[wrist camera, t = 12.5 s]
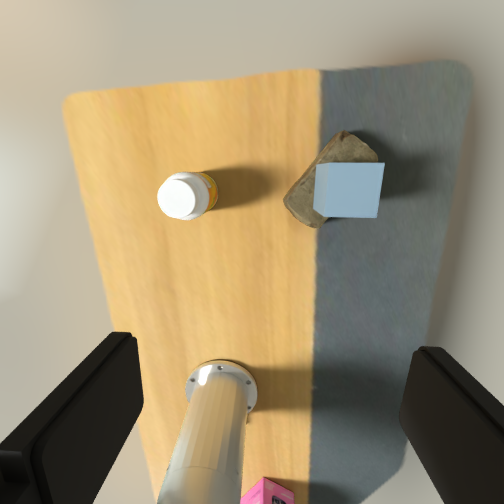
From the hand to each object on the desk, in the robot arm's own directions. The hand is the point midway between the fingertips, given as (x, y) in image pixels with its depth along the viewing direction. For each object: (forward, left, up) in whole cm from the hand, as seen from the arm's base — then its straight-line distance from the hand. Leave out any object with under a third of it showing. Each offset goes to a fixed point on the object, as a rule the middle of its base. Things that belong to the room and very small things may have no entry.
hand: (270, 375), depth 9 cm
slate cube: (+5, -8, -24) cm, 26 cm away
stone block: (+5, -7, -29) cm, 31 cm away
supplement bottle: (+4, +9, -29) cm, 31 cm away
